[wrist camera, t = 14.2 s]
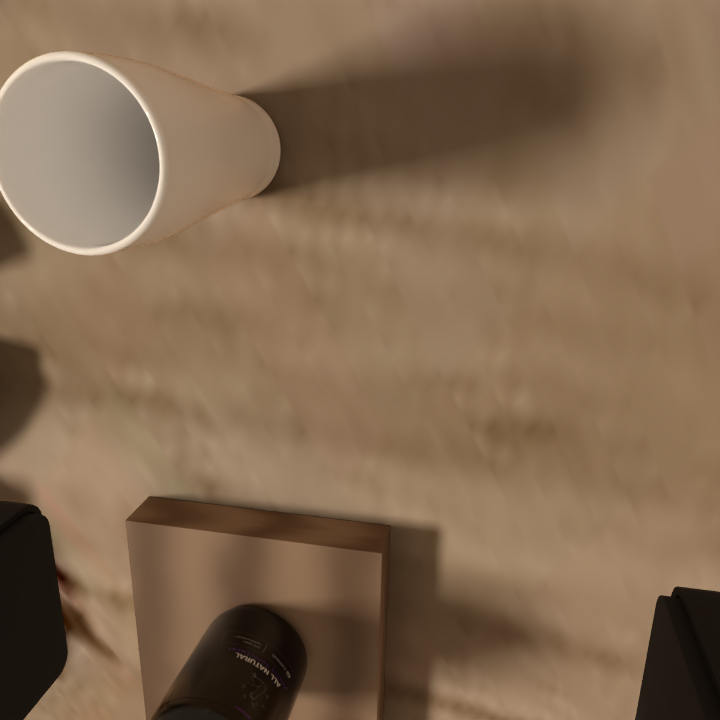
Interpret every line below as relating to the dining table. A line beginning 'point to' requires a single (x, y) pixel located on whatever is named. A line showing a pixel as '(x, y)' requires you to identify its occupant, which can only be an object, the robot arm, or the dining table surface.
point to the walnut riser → (264, 595)
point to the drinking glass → (125, 151)
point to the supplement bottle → (239, 670)
